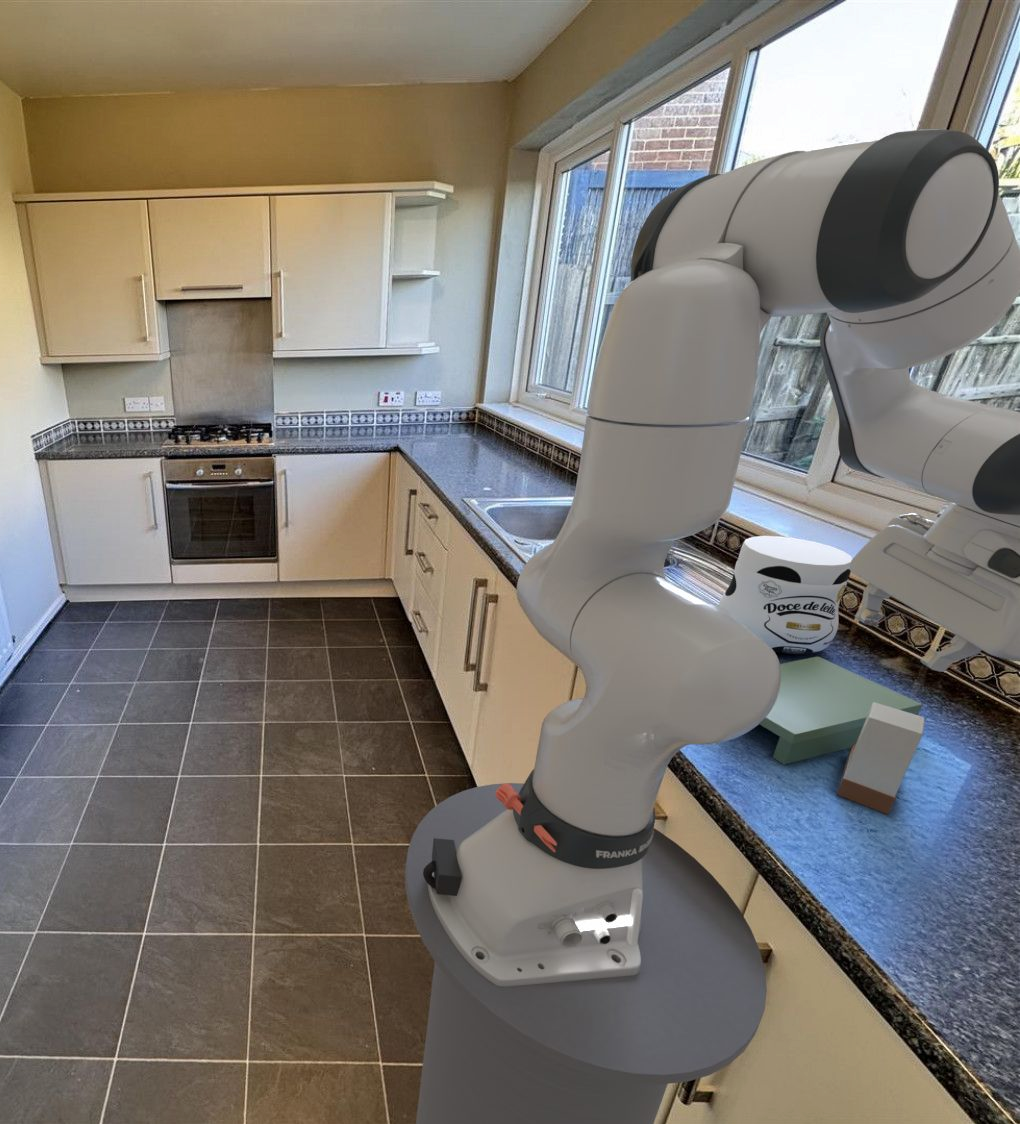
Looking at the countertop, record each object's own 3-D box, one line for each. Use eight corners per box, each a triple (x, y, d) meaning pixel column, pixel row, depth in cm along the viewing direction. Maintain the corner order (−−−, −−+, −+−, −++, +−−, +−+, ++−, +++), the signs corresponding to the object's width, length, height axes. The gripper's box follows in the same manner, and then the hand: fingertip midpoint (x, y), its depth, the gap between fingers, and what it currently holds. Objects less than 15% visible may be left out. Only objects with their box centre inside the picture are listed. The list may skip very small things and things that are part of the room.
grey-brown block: (888, 814, 75) (924, 735, 71) (836, 794, 78) (867, 717, 74) (894, 775, 81) (928, 699, 77) (846, 758, 84) (876, 684, 80)
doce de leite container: (792, 672, 105) (826, 575, 98) (691, 629, 120) (714, 542, 113) (849, 650, 111) (884, 557, 105) (747, 612, 126) (772, 528, 119)
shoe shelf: (784, 764, 83) (795, 734, 82) (693, 707, 96) (700, 679, 94) (910, 733, 89) (922, 704, 87) (808, 682, 102) (818, 656, 100)
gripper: (879, 501, 77) (808, 593, 83) (1057, 579, 58) (949, 690, 65) (925, 513, 77) (851, 605, 83) (1116, 595, 59) (1002, 704, 65)
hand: (895, 643), depth 74 cm, fingers open, 8 cm apart
